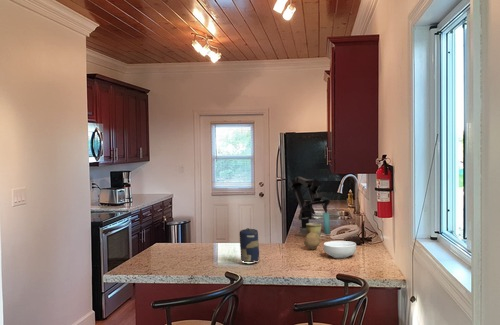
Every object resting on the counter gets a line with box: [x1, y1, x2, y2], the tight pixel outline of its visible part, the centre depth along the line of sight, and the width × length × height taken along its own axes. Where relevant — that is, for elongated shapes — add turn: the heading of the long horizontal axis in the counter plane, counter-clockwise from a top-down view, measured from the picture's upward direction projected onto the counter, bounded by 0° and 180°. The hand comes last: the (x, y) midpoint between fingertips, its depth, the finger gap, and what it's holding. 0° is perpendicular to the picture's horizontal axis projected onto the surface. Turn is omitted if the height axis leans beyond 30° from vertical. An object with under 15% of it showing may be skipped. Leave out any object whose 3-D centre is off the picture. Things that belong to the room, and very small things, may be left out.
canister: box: [239, 227, 260, 262], centre depth 221 cm, size 10×10×18 cm
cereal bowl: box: [323, 240, 357, 259], centre depth 224 cm, size 17×17×7 cm
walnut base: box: [294, 228, 308, 237], centre depth 295 cm, size 12×12×4 cm
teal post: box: [322, 212, 331, 235], centre depth 293 cm, size 4×4×14 cm
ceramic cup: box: [306, 222, 323, 239], centre depth 277 cm, size 13×10×10 cm
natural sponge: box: [303, 232, 321, 251], centre depth 245 cm, size 9×9×10 cm
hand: (320, 213), depth 299 cm, fingers open, 9 cm apart
